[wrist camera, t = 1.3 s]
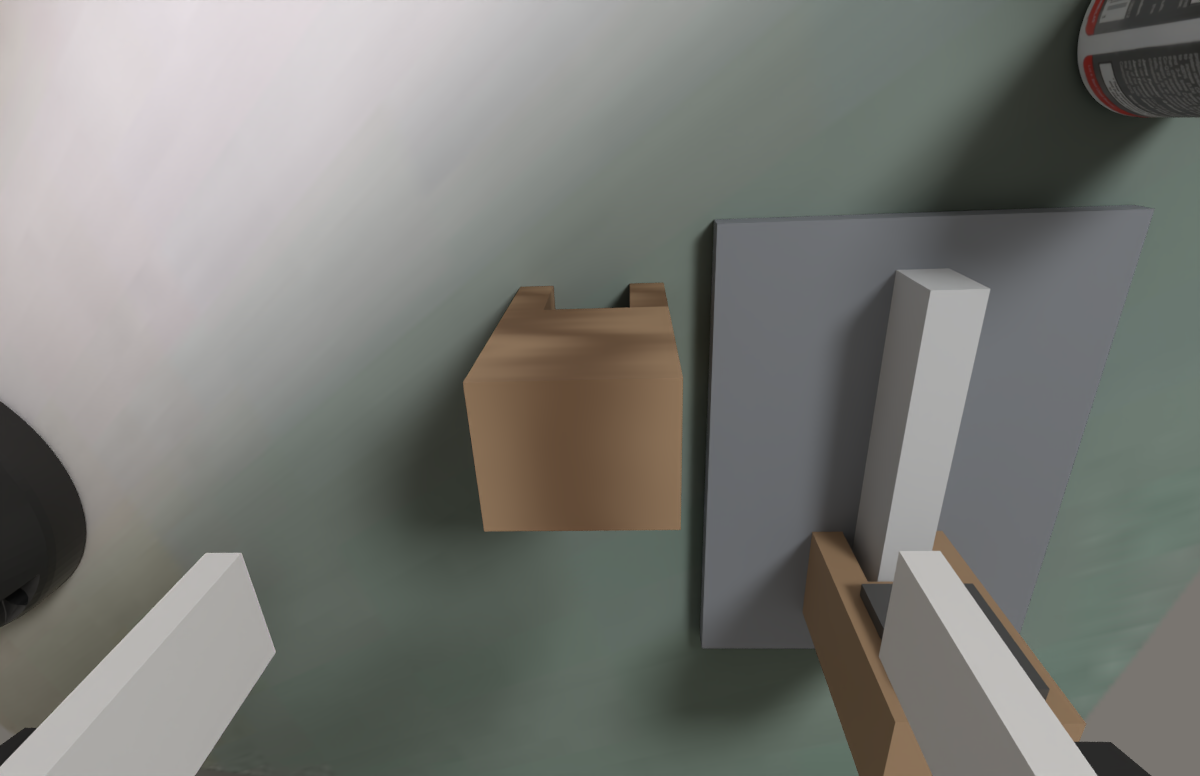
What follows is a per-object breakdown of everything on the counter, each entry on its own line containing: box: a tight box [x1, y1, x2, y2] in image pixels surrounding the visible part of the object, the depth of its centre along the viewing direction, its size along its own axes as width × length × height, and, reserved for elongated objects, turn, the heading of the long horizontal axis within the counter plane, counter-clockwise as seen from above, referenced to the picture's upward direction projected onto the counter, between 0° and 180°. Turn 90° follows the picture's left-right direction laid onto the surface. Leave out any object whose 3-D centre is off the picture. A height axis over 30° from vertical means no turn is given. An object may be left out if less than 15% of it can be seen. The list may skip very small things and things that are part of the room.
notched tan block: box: [463, 283, 683, 531], centre depth 22 cm, size 6×6×10 cm
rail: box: [700, 205, 1154, 776], centre depth 24 cm, size 16×22×11 cm
